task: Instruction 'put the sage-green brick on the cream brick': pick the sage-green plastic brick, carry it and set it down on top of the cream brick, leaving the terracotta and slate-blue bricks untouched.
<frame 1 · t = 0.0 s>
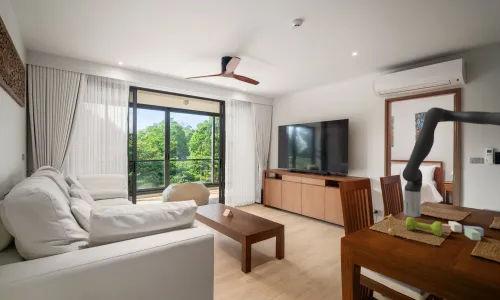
figurine: (391, 236, 123), on the table
sage brick: (472, 238, 120), on the table
dumbbell: (423, 232, 128), on the table
slate brick: (473, 234, 124), on the table
cream brick: (455, 230, 131), on the table
terracotta brick: (441, 231, 129), on the table
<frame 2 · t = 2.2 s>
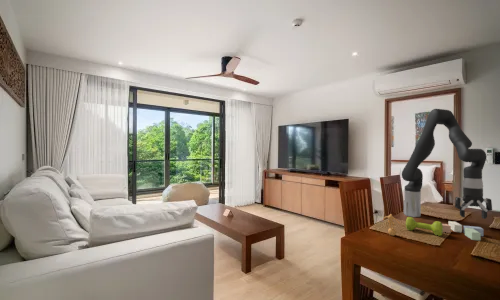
hand: (473, 217, 120), 11 cm above the table, tool pointing down, fingers open, 8 cm apart
nothing on the table moved.
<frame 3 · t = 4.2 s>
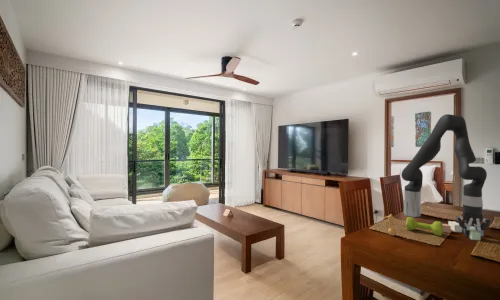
hand: (472, 236, 120), 0 cm above the table, tool pointing down, fingers closed on sage brick, 3 cm apart
sage brick: (472, 237, 120), on the table, touching gripper
everything else where it was.
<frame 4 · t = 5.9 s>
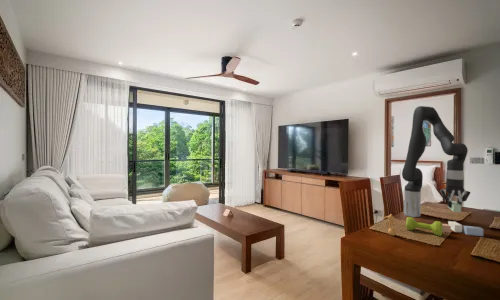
hand: (454, 207, 131), 13 cm above the table, tool pointing down, fingers closed on sage brick, 3 cm apart
sage brick: (454, 209, 131), point 12 cm above the table, tilted 6°, touching gripper
everything else where it was.
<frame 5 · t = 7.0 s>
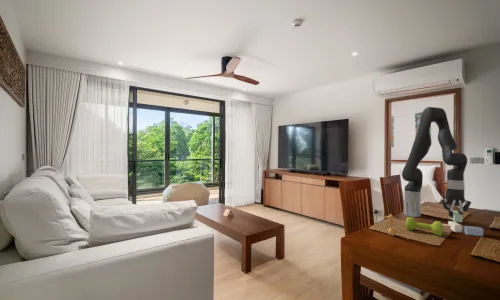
hand: (455, 217, 131), 7 cm above the table, tool pointing down, fingers closed on sage brick, 3 cm apart
sage brick: (455, 219, 131), point 6 cm above the table, tilted 5°, touching gripper
everything else where it was.
when the fingers open (6 cm above the table, at t = 8.0 s): sage brick stays where it is, resting on cream brick.
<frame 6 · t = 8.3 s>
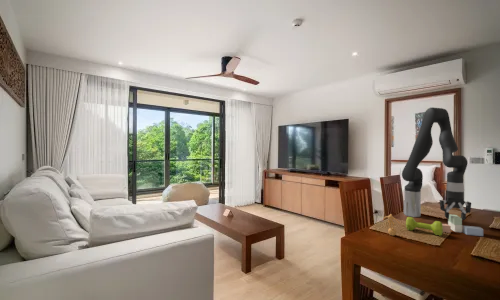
hand: (455, 218, 131), 6 cm above the table, tool pointing down, fingers open, 6 cm apart
sage brick: (454, 223, 131), point 4 cm above the table, touching cream brick
cream brick: (455, 230, 131), on the table, touching sage brick
everything else where it was.
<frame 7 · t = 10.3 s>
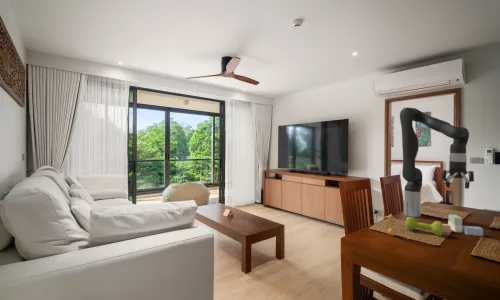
hand: (457, 188, 135), 23 cm above the table, tool pointing down, fingers open, 8 cm apart
nothing on the table moved.
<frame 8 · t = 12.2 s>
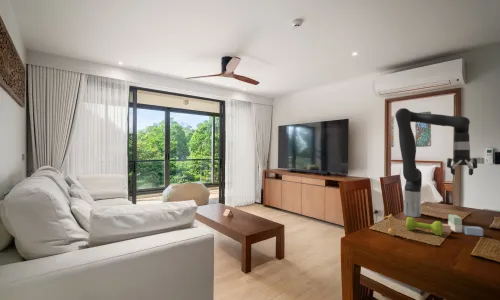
hand: (461, 174, 143), 30 cm above the table, tool pointing down, fingers open, 8 cm apart
nothing on the table moved.
at the end: sage brick 0.0 cm off-centre on the cream brick, point 4.0 cm above the cream brick's base; terracotta brick moved 0.2 cm from its start; slate brick moved 0.2 cm from its start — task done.
